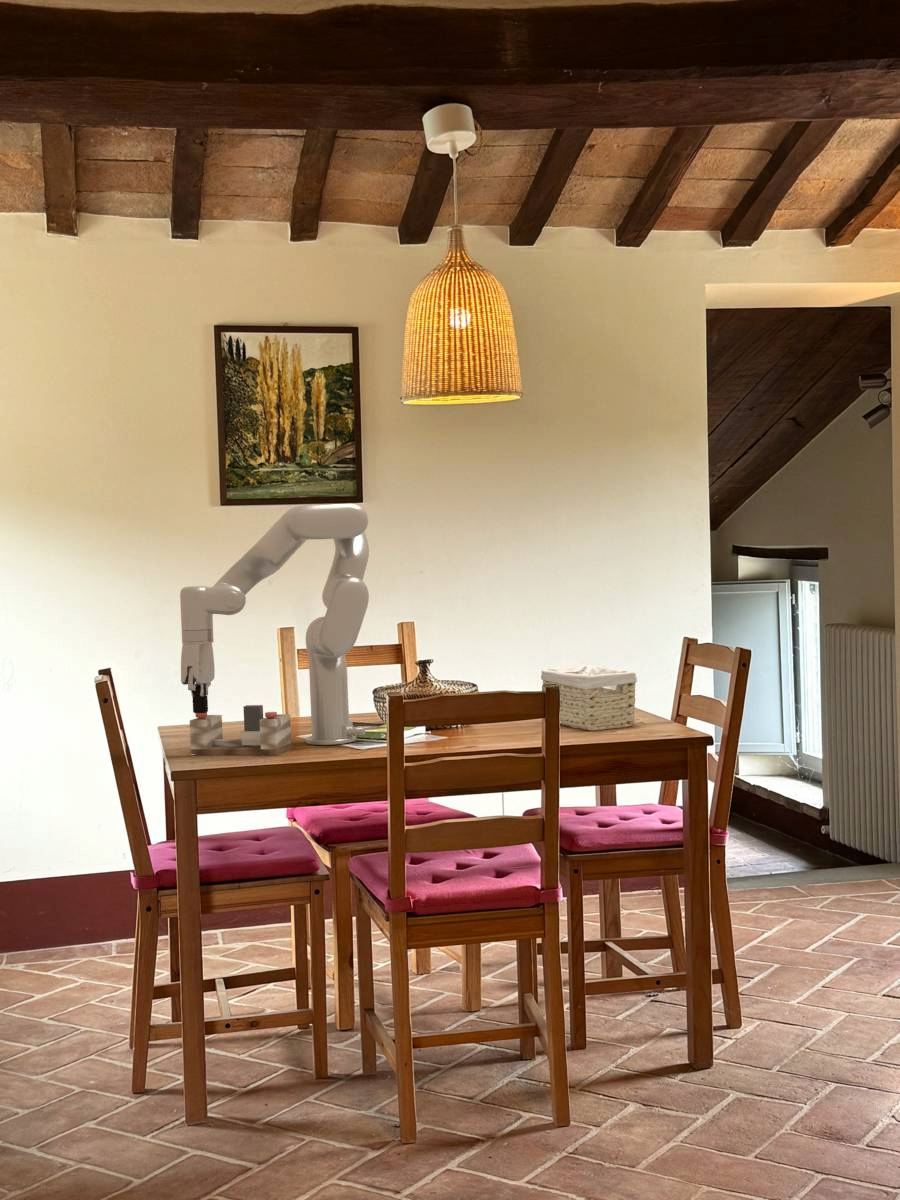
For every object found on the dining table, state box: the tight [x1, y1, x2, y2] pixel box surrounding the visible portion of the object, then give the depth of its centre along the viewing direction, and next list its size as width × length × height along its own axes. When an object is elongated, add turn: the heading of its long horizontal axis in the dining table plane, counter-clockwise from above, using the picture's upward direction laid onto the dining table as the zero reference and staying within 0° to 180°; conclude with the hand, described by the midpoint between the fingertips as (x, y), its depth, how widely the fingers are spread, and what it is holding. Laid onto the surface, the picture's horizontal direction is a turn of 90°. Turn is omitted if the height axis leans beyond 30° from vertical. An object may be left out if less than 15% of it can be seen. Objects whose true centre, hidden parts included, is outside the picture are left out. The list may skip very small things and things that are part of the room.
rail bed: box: [189, 713, 292, 756], centre depth 315 cm, size 22×10×8 cm, turn 77°
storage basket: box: [540, 664, 638, 732], centre depth 340 cm, size 24×16×15 cm
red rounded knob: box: [194, 712, 208, 720], centre depth 314 cm, size 3×3×4 cm
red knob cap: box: [264, 711, 278, 719], centre depth 310 cm, size 3×3×4 cm
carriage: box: [240, 704, 264, 745], centre depth 314 cm, size 5×5×9 cm
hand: (200, 712), depth 314 cm, fingers closed
